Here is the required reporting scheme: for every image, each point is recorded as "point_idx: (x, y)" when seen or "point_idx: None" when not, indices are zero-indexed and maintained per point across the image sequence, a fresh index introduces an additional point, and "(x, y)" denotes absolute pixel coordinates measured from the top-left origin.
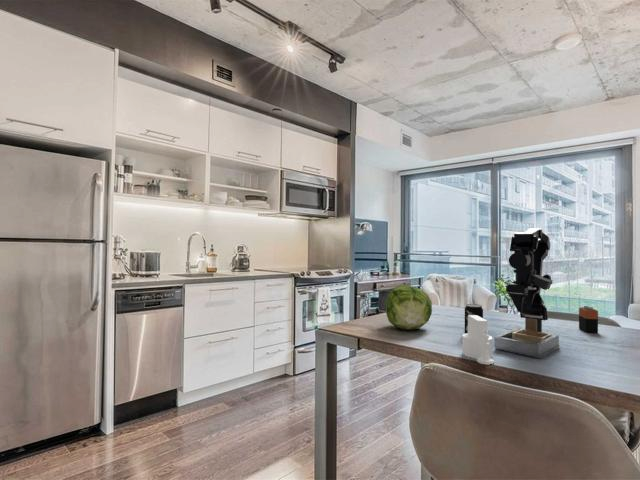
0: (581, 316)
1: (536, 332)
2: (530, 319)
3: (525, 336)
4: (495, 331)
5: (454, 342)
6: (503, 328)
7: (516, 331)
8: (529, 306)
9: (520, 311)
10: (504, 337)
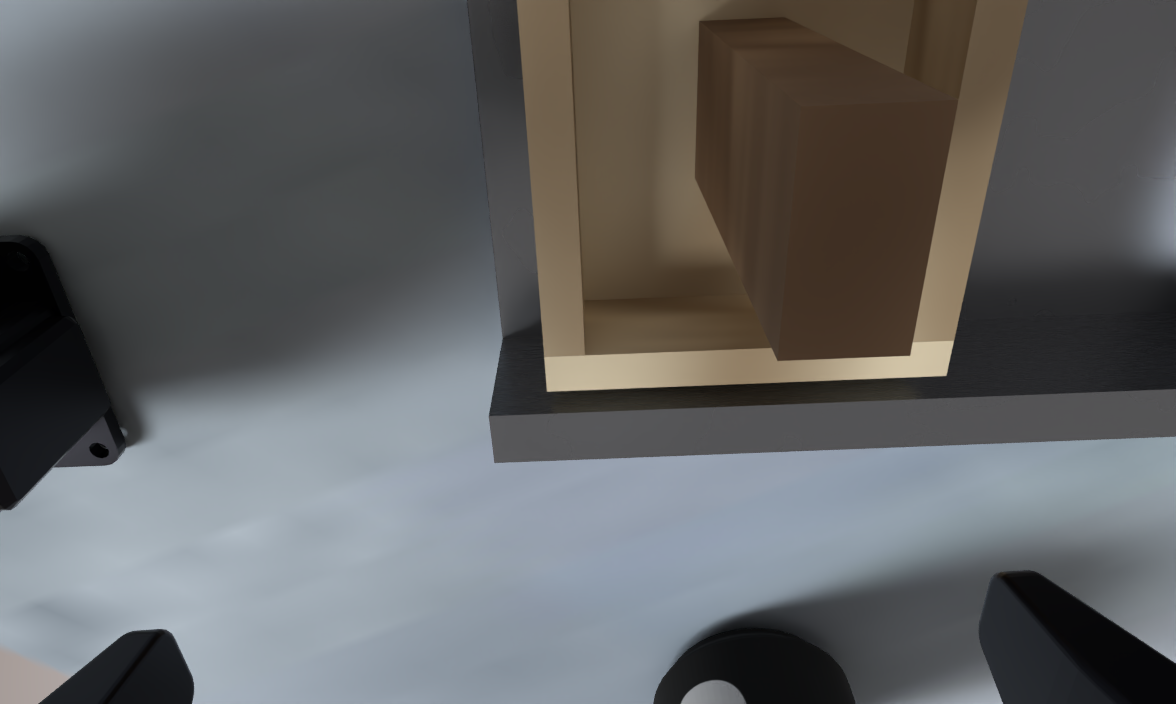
0: None
1: (777, 41)
2: (922, 245)
3: (981, 148)
4: (329, 653)
5: None
6: None
7: (794, 368)
8: (148, 701)
9: (1042, 596)
10: (1145, 367)
